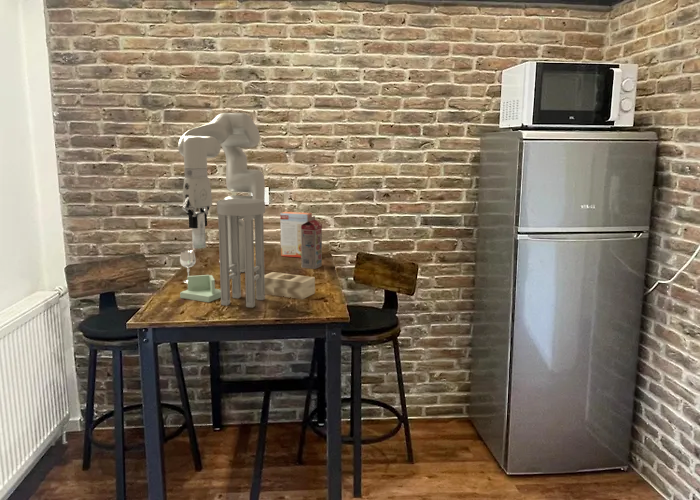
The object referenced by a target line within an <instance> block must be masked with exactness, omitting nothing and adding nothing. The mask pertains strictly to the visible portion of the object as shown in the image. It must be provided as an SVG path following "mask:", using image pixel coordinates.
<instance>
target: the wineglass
mask: <svg viewBox="0 0 700 500" xmlns="http://www.w3.org/2000/svg"><path fill="white" fill-rule="evenodd" d="M179 263H180V265H181V266H182V267H184V268H186V272H187V276H190V270H191V269H190V268H192V267H194V265H196V254H195V251H194V250H190V249H186V250H181V251H180V257H179ZM182 283H185V284H188V279H187V278H186V279H185V280H183V281H182Z"/></svg>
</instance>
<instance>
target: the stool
mask: <svg viewBox="0 0 700 500" xmlns="http://www.w3.org/2000/svg"><path fill="white" fill-rule="evenodd" d="M223 199H224V198H223ZM223 199H220V200H218V201H216V213H217V221H218V222H217V223H218V224H217V225H218V252H219V261H220V263H219V275H220V276H219V277H220V278H219V279H220V280H219V281H220V283H219V285H220V290H221V298H220V305H221V306H226V307H228V306H229V305H231V297H232V299H240V298H241V297H242V289H241V288H242V284H241V283H242V279H241V278H242V277H241V273H240V242H239V216H244V219H243V221H244V244H245V272H244V276H245V278H244V279H245V307H246V308H254V307H255V306H256V300H257V301H264V300H265V299H266V294H265V277H264V275H265V234H264V231H265V230H264V214H265V213H266V202H265V200H264V201H263V200H259V199H245V198H243V199H224V200H223ZM263 213H264V214H263ZM227 215H229V216H230V234H231V265H230V266H229V249H228V217H227ZM253 215H255V219H253ZM254 243H255V244H254ZM230 270H232V273H229V271H230ZM230 281H231V284H230ZM230 289H231V290H230ZM231 293H232V294H231ZM255 293H256V294H255ZM231 295H232V296H231Z"/></svg>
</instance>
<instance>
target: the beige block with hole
mask: <svg viewBox="0 0 700 500" xmlns="http://www.w3.org/2000/svg"><path fill="white" fill-rule="evenodd" d="M264 277H265V295H269V296H270V295H271V296H277V297H283V296H284V297H285V298H290V297H291V299H297V300H304V299H306V298H308V297H310V296H313V295H314V294H315V293H316V278H315V276H308V275H307V276H306V275H299V274H293V273H292V274H290V273H284V272H276V271H275V272H274V271H272V272H269V273H267V274H264Z"/></svg>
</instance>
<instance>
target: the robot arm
mask: <svg viewBox="0 0 700 500" xmlns="http://www.w3.org/2000/svg"><path fill="white" fill-rule="evenodd" d="M260 139H261V134H260V131H259V128H258V126H257V125H256V123H255V122H254V120H253V119H252V118H251V116H250V115H248V114H247V113H245V112H221V113H219V114H217V115H216V116H215V117H214V118H213V119H212V120H210V121H209V123H206V124H203V125H200V126H198V127H197V126H196V127H193V128H191V129H189V130H187V131H186V132H184V133H183V134H182V135H181V136H180V138H179V140H178V142H177V143H178V144H177V150H178V153H179V154H180V156H182V157H183V164H184V165H183V167H184V169H183V171H184V172H183V173H184V178H183V187H182V200H183V204H182V207H181V210H183V211H184V212H185V213H186V214H187V215H186V217H188V228H189V229H192V228H197V227H198V226H197V217H195V216H196V212H197V209H198V212H204V213H205V227H208V214H209V211H210V208H211V207H212V205H213V196H212V186H211V182H210V177H208V176H209V175H208V159H213V158H216V157H218V155H219V154H220V152H221V148H222V151H223V152H224V155H225V183H226V184H225V185H226V189H227V190H228V191H229V192H232V193H251V194H252V195H234V194H233V195H227V196H226V197H224V198H223V199H222V200H224V199H243V198H245V199H259V200H263V201H264V202H265V194H266V193H265V192H266V191H265V188H266V186H265V185H266V184H265V183H266V181H265V180H266V179H265V176H264V173H263V172H262V171H261V170H260V169H250V168H249V169H248V159H247V158H248V157H247V155H246V153H245V152H244V150H243V149H242V148H253V147H256V146H258V145H259V143H260V141H261V140H260ZM264 214H265V213H263V215H264ZM227 217H228V249H229V266H230V265H231V234H230V216H229V215H227ZM253 220H255V215H253ZM239 242H240V274H241V273H245V244H244V216H239ZM218 264H220V260H219V261H218ZM229 274H232V270H230V271H229Z"/></svg>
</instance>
